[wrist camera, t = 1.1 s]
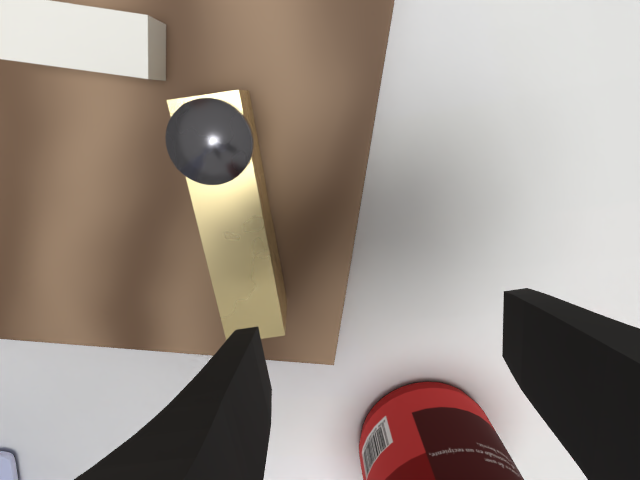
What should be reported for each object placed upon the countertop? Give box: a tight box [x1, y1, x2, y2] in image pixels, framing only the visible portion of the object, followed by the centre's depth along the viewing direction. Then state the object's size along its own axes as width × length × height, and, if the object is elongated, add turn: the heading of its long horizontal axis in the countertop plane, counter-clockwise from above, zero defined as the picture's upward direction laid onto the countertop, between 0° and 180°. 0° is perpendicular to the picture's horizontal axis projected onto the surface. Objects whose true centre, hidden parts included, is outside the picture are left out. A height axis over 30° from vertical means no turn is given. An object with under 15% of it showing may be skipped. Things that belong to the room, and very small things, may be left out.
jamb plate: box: [0, 0, 394, 365], centre depth 18 cm, size 18×19×1 cm
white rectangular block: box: [0, 0, 166, 81], centre depth 15 cm, size 5×2×2 cm, turn 83°
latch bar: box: [165, 90, 287, 340], centre depth 16 cm, size 10×3×4 cm, turn 8°
